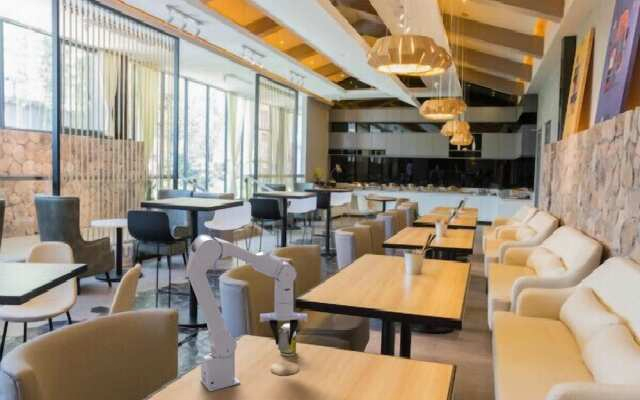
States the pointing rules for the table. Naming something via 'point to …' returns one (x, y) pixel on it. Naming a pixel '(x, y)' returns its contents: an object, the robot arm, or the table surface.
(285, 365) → the coaster
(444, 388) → the table surface
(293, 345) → the supplement bottle
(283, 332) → the plug
